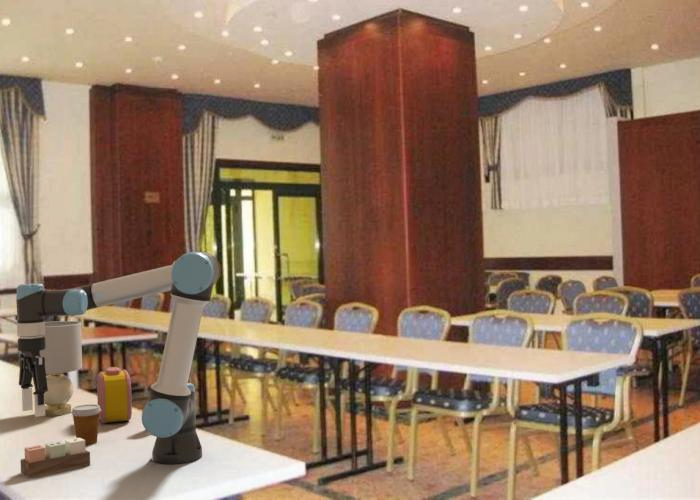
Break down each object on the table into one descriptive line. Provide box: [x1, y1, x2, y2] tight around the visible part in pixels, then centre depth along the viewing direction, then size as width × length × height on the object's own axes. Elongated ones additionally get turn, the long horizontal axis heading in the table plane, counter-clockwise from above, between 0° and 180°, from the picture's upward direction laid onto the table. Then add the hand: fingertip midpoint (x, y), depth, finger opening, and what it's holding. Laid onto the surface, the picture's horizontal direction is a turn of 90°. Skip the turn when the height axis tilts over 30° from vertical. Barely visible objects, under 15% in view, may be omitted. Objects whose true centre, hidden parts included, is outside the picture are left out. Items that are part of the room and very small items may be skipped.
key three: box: [24, 444, 46, 463], centre depth 230 cm, size 4×4×5 cm
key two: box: [44, 440, 66, 459], centre depth 234 cm, size 4×4×5 cm
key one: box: [64, 437, 87, 455], centre depth 238 cm, size 4×4×5 cm
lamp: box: [40, 320, 83, 417], centre depth 311 cm, size 20×20×35 cm
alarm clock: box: [96, 366, 133, 424], centre depth 297 cm, size 18×11×19 cm, turn 22°
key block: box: [20, 449, 91, 479], centre depth 234 cm, size 7×18×4 cm, turn 131°
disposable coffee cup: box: [71, 403, 101, 446], centre depth 264 cm, size 10×10×12 cm
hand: (33, 413), depth 230 cm, fingers open, 10 cm apart
